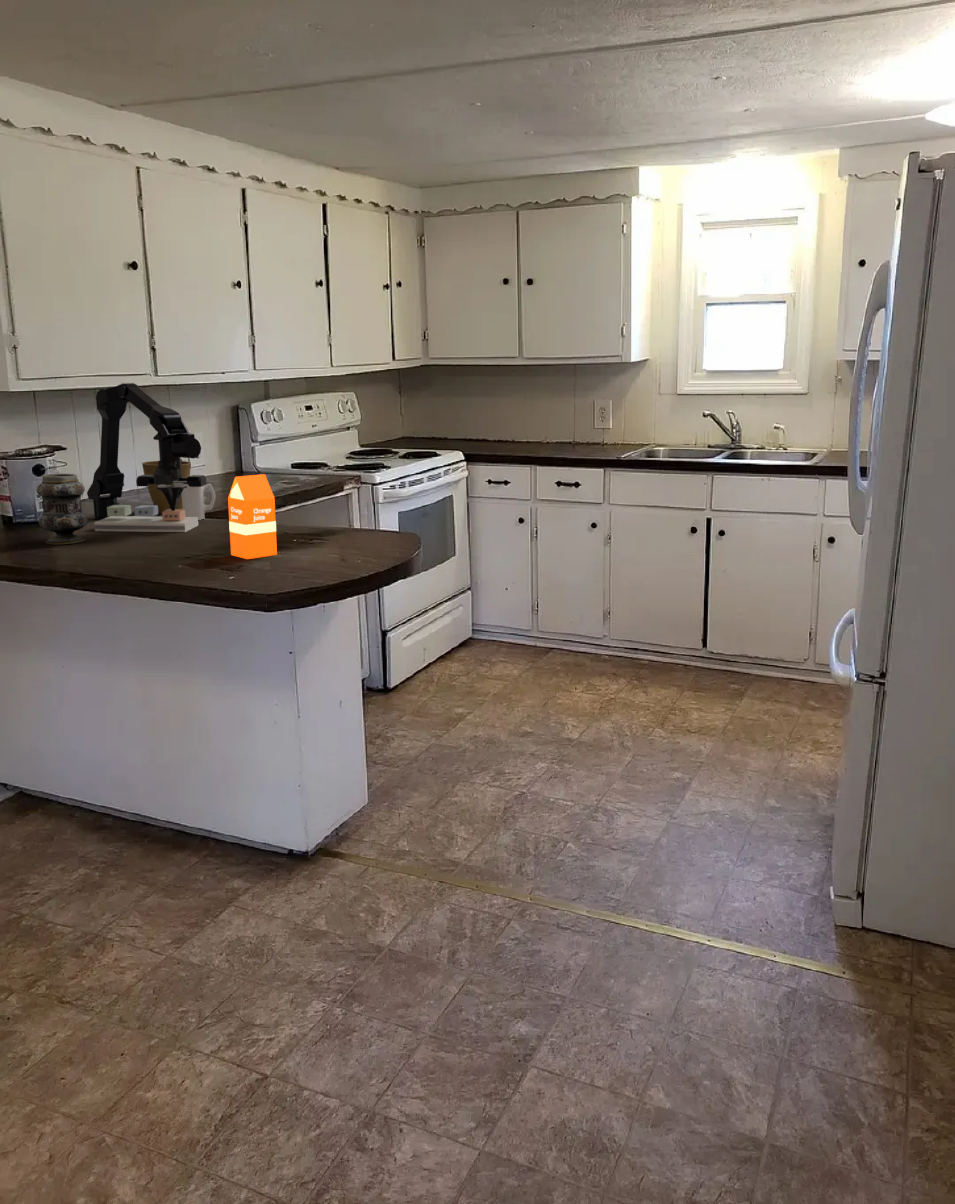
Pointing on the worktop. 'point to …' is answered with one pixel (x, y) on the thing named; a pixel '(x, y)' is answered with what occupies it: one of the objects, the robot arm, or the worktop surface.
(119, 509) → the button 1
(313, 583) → the worktop surface
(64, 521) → the apothecary jar
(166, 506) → the plant pot
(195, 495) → the mug
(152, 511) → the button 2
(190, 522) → the console
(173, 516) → the orange block with buttons
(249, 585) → the worktop surface
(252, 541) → the orange juice
